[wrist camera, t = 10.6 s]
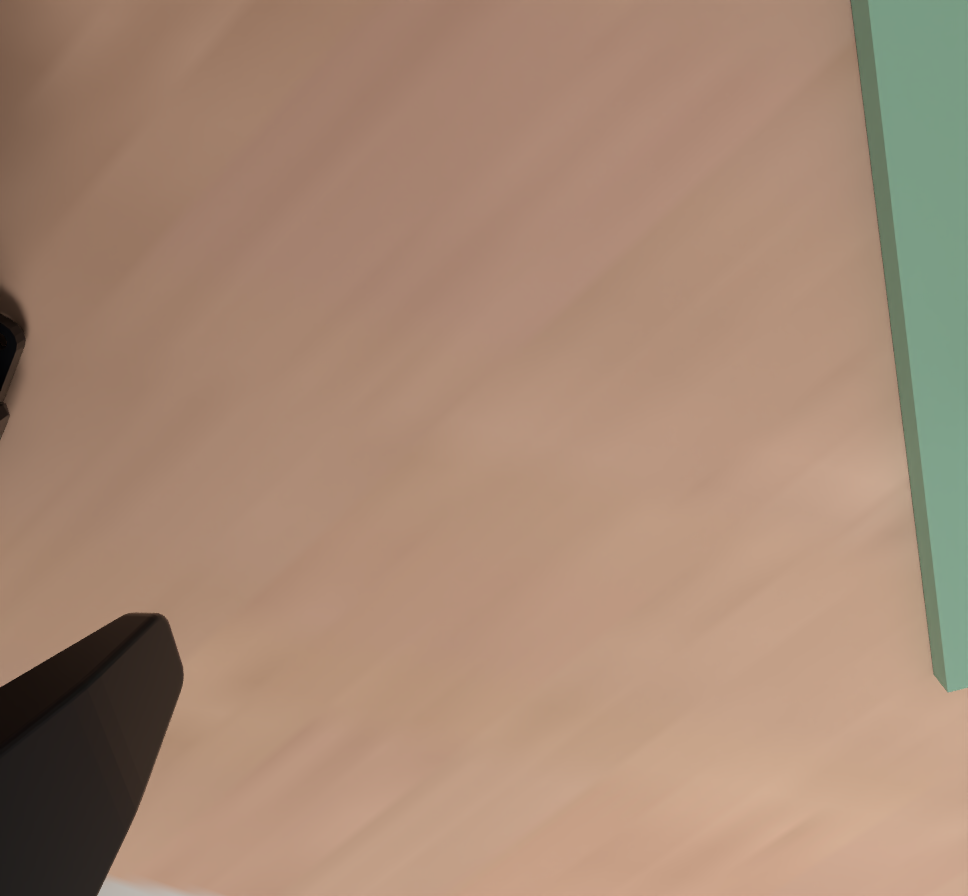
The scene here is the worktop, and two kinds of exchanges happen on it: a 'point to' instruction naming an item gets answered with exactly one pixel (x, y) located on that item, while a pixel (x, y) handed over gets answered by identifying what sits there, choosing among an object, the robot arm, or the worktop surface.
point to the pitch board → (926, 279)
